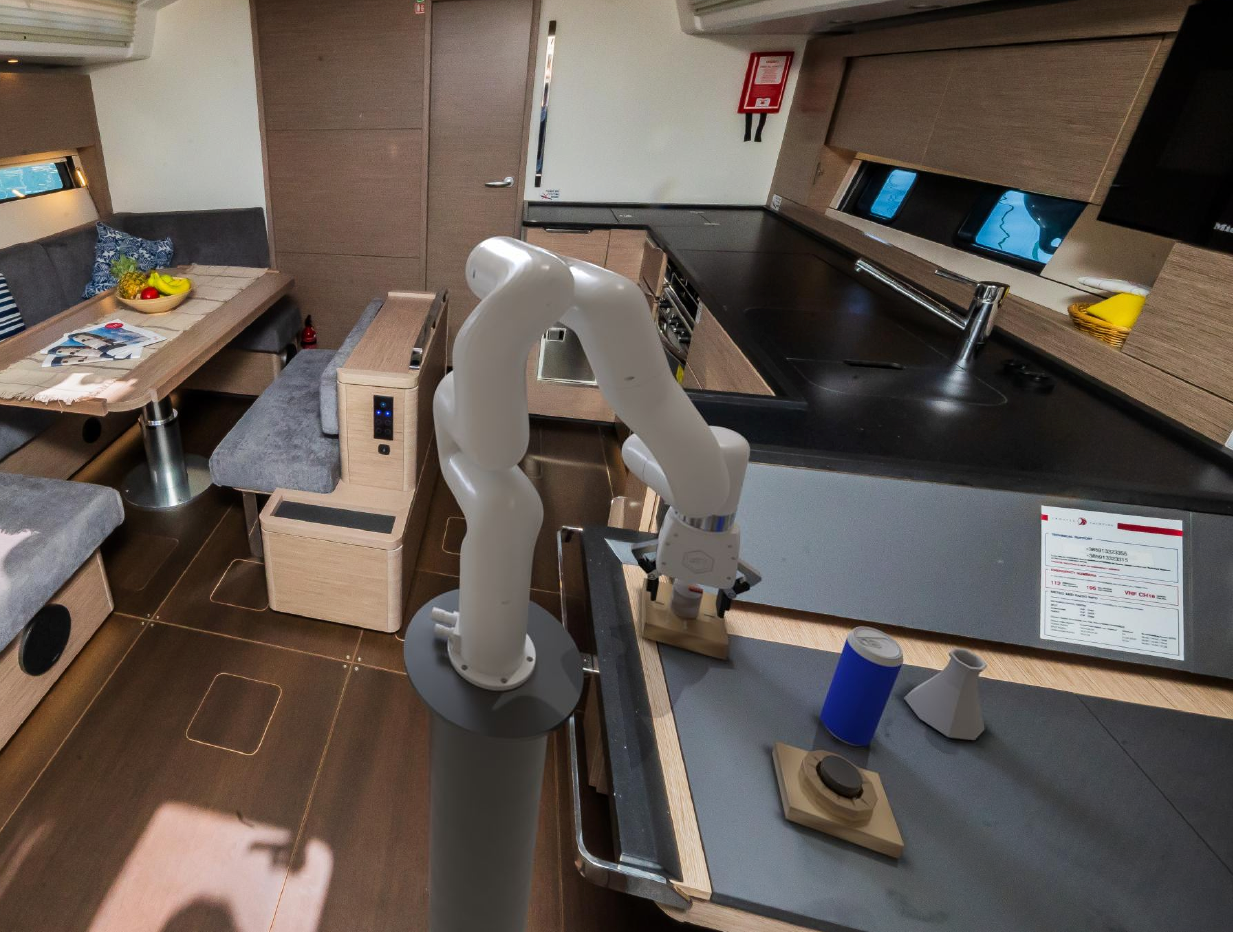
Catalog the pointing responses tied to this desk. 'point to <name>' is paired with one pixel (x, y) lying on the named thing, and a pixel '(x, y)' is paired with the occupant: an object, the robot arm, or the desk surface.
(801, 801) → the button block
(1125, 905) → the desk surface
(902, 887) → the desk surface
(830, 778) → the button
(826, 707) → the beverage can
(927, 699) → the flask
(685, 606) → the knob
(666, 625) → the knob panel
